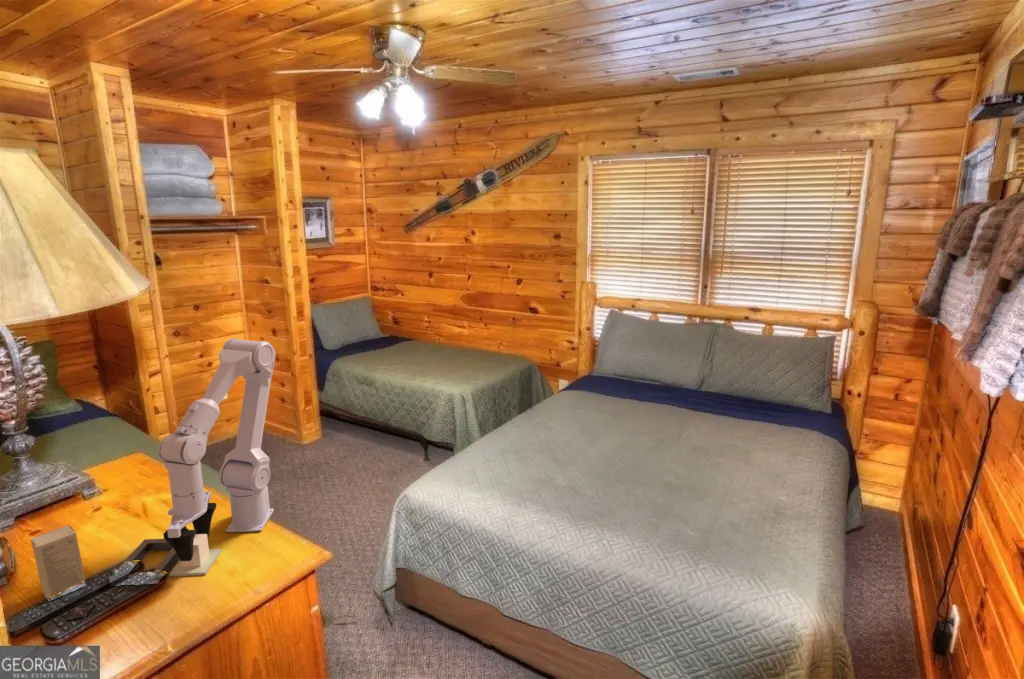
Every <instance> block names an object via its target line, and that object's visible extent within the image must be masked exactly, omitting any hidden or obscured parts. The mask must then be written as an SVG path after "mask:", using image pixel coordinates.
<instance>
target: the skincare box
mask: <svg viewBox="0 0 1024 679" xmlns="http://www.w3.org/2000/svg"><path fill="white" fill-rule="evenodd" d="M30 541H31V546H32V550H33V554H34V555H33V556H34V559H35V563H36V567H37V572H38V577H39V581H40V584H41V585H40V586H41V591H42V593H43V595H44V598H45V599H46V598H48V597H51V596H53V595H54V594H57V593H59V592H61V591H63V590H65V589H67V588H69V587H71V586H73V585H75V584H77V583H80V582H82V581H85V580H86V575H85V571H84V570H85V569H84V566H83V562H82V556H81V551H80V547H79V542H78V537H77V532H76V531H75V529H74V528H73V527H72V526H71V525H70V524H67V525H65V526H62V527H59V528H57V529H54V530H51V531H48V532H45V533H41V534H40V535H37V536H33V537H31V538H30Z"/></svg>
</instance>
